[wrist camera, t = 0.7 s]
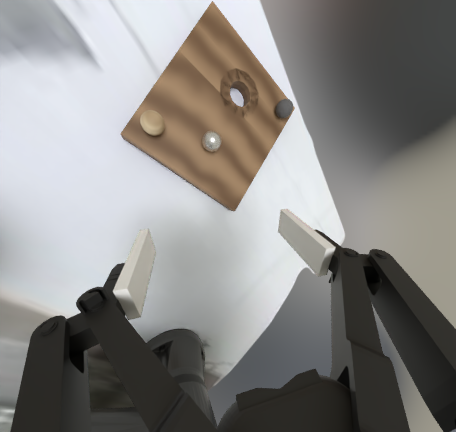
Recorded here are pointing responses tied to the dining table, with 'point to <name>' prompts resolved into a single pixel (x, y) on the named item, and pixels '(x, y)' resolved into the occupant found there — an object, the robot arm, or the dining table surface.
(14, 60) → the dining table surface
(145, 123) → the beech ball
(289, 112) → the black rubber ball
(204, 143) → the steel ball
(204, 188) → the walnut plate
